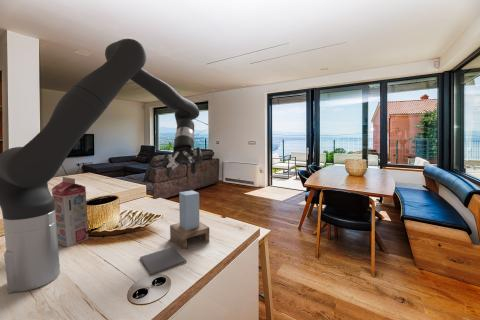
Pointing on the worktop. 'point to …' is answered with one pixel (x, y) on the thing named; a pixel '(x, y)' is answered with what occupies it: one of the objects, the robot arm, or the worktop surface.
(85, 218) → the juice carton
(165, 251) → the coaster
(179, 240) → the riser
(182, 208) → the block
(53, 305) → the worktop surface
